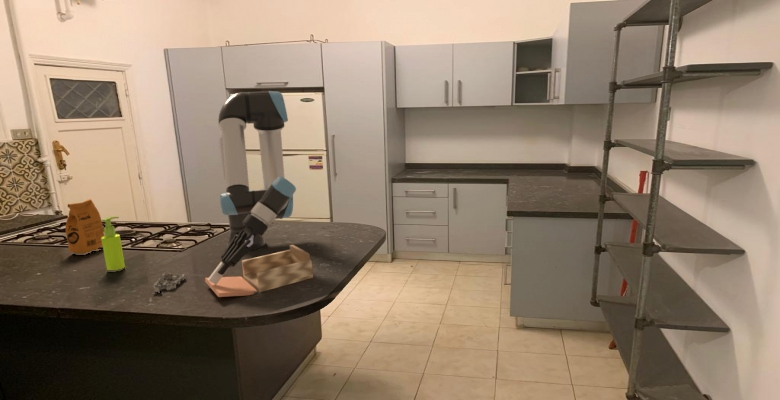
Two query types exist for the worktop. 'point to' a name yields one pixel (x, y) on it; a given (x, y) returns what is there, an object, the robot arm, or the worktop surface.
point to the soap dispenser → (112, 247)
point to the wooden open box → (278, 269)
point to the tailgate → (231, 287)
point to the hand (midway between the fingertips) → (211, 281)
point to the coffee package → (84, 227)
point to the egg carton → (165, 283)
